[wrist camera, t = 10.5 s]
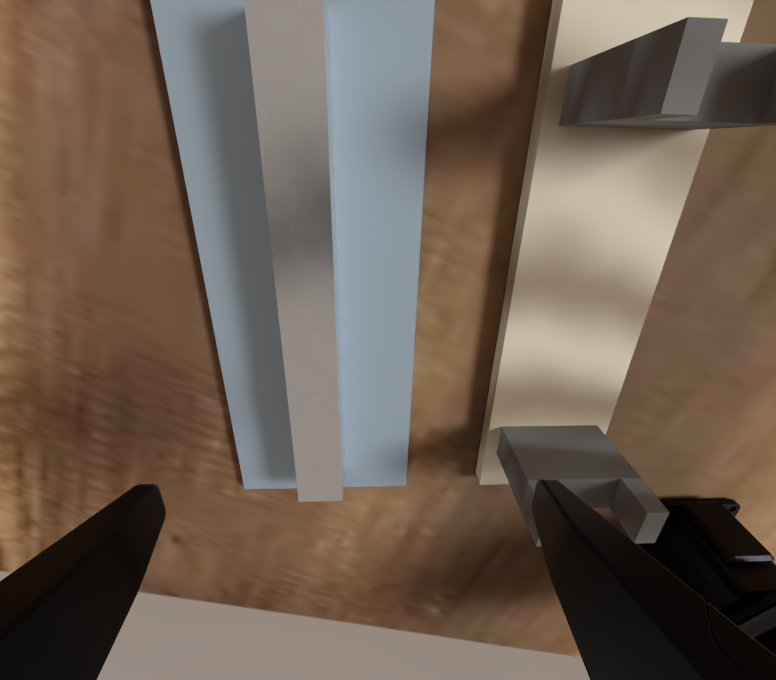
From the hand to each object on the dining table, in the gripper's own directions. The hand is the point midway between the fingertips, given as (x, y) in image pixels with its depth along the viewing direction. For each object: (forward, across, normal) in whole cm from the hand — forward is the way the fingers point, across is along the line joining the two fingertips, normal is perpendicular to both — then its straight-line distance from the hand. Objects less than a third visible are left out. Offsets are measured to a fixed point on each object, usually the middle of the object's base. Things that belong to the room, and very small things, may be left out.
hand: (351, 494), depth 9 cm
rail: (+11, +2, -1) cm, 11 cm away
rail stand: (+12, -11, -1) cm, 16 cm away
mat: (+12, +2, -1) cm, 12 cm away
